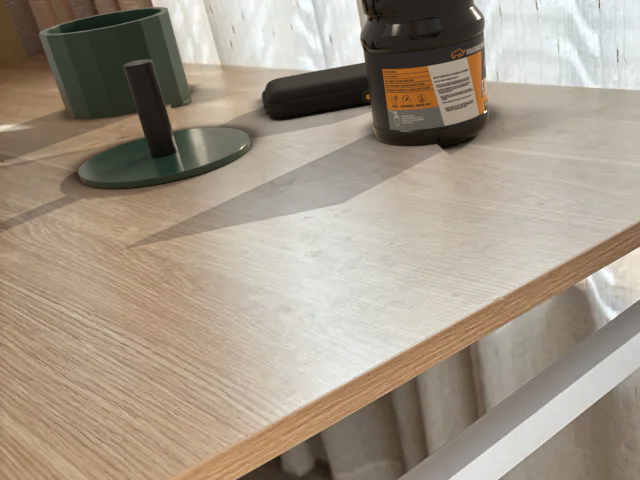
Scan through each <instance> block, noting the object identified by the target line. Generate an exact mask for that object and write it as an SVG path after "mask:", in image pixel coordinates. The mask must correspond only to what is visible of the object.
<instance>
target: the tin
mask: <svg viewBox="0 0 640 480" xmlns="http://www.w3.org/2000/svg"><path fill="white" fill-rule="evenodd" d="M38 36H39V39H40V43H41V45H42V49H43V51H44V53H45V57H46V59H47V62H48V64H49V67H50V70H51V72H52V76H53V78H54V81H55V84H56V87H57V89H58V92H59V95H60V98H61V101H62V103H63V106H64V109H65V111H66V114H67V116H68V117H69V118H73V119H76V120H97V119H105V118H114V117H115V118H116V117H121V116H127V115H131V114H137V110H136V106H135V103H134V100H133V97H132V93H131V90H130V87H129V84H128V80H127V77H126V74H125V71H124V68H123V65H124V64H126V63H129V62H133V61H137V60H144V59H151V60H152V61H153V64H154V68H155V71H156V75H157V78H158V82H159V85H160V89H161V92H162V96H163V99H164V103H165V106H166V105H168V104H170V109H171V110H172V109H176V108H182V107H187V106H189V105H190V104H191V103H192V100H193V98H192V95H191V91H190V87H189V83H188V79H187V75H186V72H185V67H184V64H183V61H182V56H181V52H180V49H179V44H178V42H177V38H176V34H175V31H174V27H173V23H172V19H171V15H170V12H169V9H168V7H164V6H163V7H162V6H151V7H149V6H148V7H138V8H131V9H124V10H117V11H111V12H106V13H100V14H96V15H91V16H90V15H89V16H87V17H86V16H85V17H82V18H78V19H73V20H70V21H65V22H62V23H59V24H55V25H52V26H49V27H46V28H45V29H42V30H41V31H40V32H39V33H38Z"/></svg>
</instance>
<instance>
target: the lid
mask: <svg viewBox="0 0 640 480" xmlns="http://www.w3.org/2000/svg"><path fill="white" fill-rule="evenodd" d="M123 68H124V71H125V74H126V77H127V80H128V84H129V87H130V90H131V93H132V97H133V100H134V103H135V106H136V110H137V112H136V114H137V116H138V119H139V122H140V125H141V128H142V132H143V136H144V137H142V138H139V139H135V140H132V141H128V142H125V143H121V144H119V145H116V146H114V147H111V148H109V149H106V150H103V151H102V152H100V153H98V154H96V155H94V156H92V157H90V158H88V159H87V160H86V161H85V162H83V163H82V164H81V165H80V167H79V169H78V176H79V179H80V181H81V183H83V184H85V185H86V186H89V187H92V188H98V189H111V190H113V189H114V190H115V189H116V190H118V189H119V190H120V189H135V188H142V187H149V186H156V185H157V186H158V185H161V184H167V183H171V182H176V181H180V180H184V179H188V178H193V177H196V176H198V175H199V176H200V175H202V174H205V173H207V172H211V171H214V170H216V169H219V168H221V167H223V166H226V165H228V164H230V163H232V162H234V161H235V160H238V159H239V158H240V157H243V155H245V153H247V152H248V151H249V149H250V148H251V139H250V136H249V134H248V133H247V132H245V131H244V130H241V129H237V128H233V127H200V128H199V127H198V128H189V129H181V130H173V127H172V124H171V120H170V117H169V113H168V110H167V106H166V105H165V103H164V99H163V96H162V92H161V89H160V85H159V82H158V78H157V75H156V71H155V68H154V64H153V61H152V60H151V59H144V60H137V61H133V62H129V63H126V64H124V65H123Z"/></svg>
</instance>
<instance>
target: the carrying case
mask: <svg viewBox="0 0 640 480" xmlns="http://www.w3.org/2000/svg"><path fill="white" fill-rule="evenodd" d="M261 100H262V105H263V106H262V107H263V111H264V112H265V114H266V115H267V116H269V117H271V119H272V120H274V121H283V120H288V119H289V120H290V119H294V118H301V117H305V116H310V115H311V116H312V115H317V114H321V113H327V112H332V111H338V110H344V109H349V108H354V107H361V106H366V105H371V102H370V95H369V87H368V80H367V73H366V66H365V62H360V63H354V64H349V65H343V66H342V65H341V66H336V67H332V68H331V67H330V68H325V69H320V70H315V71H309V72H304V73H298V74H292V75H288V76H282V77H278V78H274V79H272V80H269V81H268V82H267V83H266V85H265V88H264V90H263V91H262V93H261Z"/></svg>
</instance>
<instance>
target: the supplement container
mask: <svg viewBox="0 0 640 480" xmlns="http://www.w3.org/2000/svg"><path fill="white" fill-rule="evenodd" d="M360 3H361V11H362V14H364V15H365V16H366V21H365V23H364V25H363V27H362V29H361V31H360V33H359V40H360V45H361V47H362V51H363V58H364V63H365V66H366V73H367V80H368V87H369V95H370V102H371V104H370V107H371V108H370V109H371V116H372V128H373V133H374V135H375V137H376V140H378V141H379V142H380V143H382V144H385V145H390V146H396V147H397V146H398V147H419V146H429V145H438V147H440V148H443V147H448V145H449V146H452V144H453V145H456V144H459V142H460V143H463V142H466V141H468V140H470V139H472V138H475V137H476V136H478V135H479V134H480V133H481V132H482V131H483V130H484V129H485V128H486V126H487V125H488V122H489V119H490V107H489V103H488V101H489V100H488V99H489V98H488V83H487V66H486V65H487V64H486V46H485V29H486V19H485V16H484V14H483V12H482V11H481V10H480V9H479V8H478V6H477V5H476V4H475V0H360Z"/></svg>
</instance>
